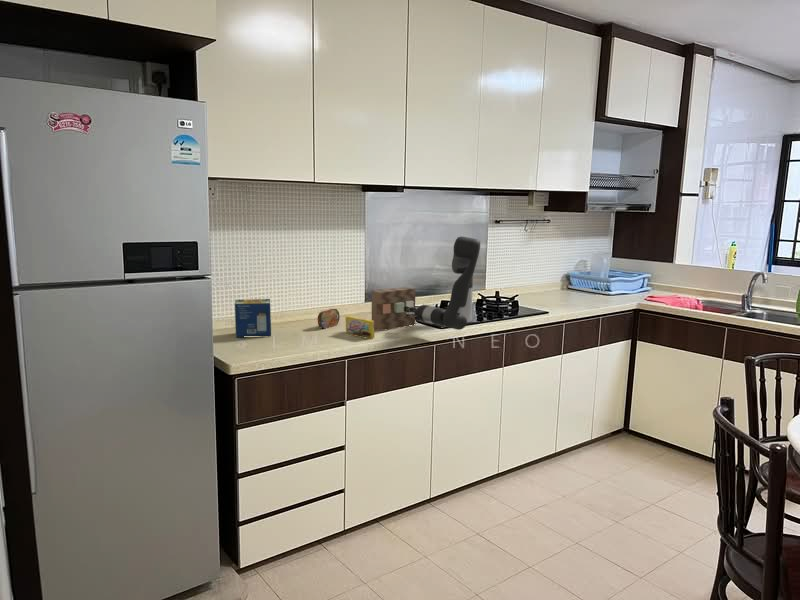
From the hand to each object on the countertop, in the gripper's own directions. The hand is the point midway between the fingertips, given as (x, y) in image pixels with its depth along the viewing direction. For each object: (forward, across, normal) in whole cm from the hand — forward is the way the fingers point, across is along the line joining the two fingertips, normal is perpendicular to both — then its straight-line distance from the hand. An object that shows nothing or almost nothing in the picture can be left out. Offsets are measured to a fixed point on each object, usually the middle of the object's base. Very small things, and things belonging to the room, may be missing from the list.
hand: (405, 308), depth 276 cm
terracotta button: (+6, +7, +2) cm, 10 cm away
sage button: (+5, 0, +2) cm, 5 cm away
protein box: (+32, +61, +10) cm, 70 cm away
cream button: (+6, -7, +2) cm, 10 cm away
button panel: (+9, 0, +10) cm, 13 cm away
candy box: (+2, +24, +10) cm, 27 cm away
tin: (+27, +25, +10) cm, 38 cm away
